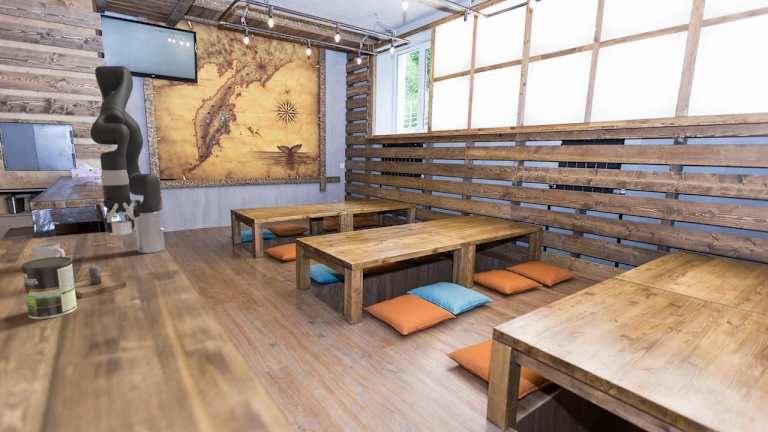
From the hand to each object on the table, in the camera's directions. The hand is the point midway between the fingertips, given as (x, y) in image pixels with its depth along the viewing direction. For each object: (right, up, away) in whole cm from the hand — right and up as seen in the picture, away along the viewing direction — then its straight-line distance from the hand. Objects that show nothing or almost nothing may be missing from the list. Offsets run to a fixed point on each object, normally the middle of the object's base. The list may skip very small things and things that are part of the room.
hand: (120, 230), depth 134 cm
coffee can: (+2, -21, -29) cm, 36 cm away
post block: (0, -18, -12) cm, 21 cm away
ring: (0, -1, 0) cm, 1 cm away
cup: (-32, -14, +9) cm, 36 cm away
